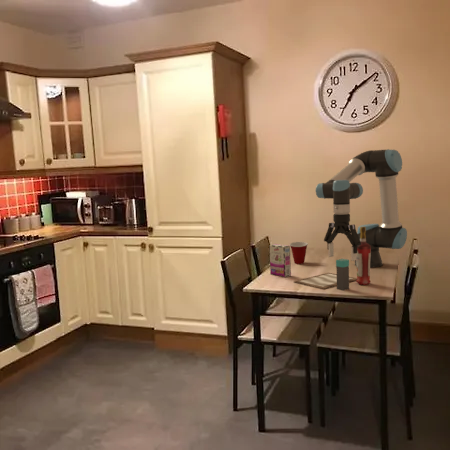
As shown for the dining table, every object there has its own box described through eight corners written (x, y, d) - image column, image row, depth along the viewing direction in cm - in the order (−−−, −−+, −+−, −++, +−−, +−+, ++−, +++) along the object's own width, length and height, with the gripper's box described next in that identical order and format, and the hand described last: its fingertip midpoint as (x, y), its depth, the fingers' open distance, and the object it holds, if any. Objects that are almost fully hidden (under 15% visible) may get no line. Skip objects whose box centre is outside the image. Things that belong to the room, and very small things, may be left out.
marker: (342, 287, 245) (341, 258, 243) (349, 288, 242) (348, 259, 240) (336, 289, 243) (336, 259, 241) (343, 290, 239) (343, 261, 238)
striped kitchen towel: (328, 273, 274) (328, 272, 274) (358, 279, 258) (358, 278, 258) (293, 282, 259) (293, 281, 259) (323, 289, 243) (323, 288, 243)
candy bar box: (291, 275, 274) (290, 245, 272) (285, 277, 271) (284, 246, 269) (276, 272, 282) (275, 243, 280) (270, 274, 279) (268, 244, 277)
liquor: (353, 282, 253) (352, 226, 249) (368, 281, 253) (367, 225, 250) (358, 286, 246) (357, 228, 242) (373, 285, 246) (372, 227, 242)
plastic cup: (288, 265, 301) (288, 244, 299) (291, 261, 311) (290, 241, 309) (307, 265, 298) (306, 244, 296) (309, 261, 308) (309, 241, 306)
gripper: (316, 212, 245) (316, 256, 248) (358, 215, 225) (358, 263, 228) (326, 211, 250) (327, 254, 252) (368, 214, 230) (369, 260, 232)
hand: (342, 258), depth 240 cm, fingers open, 13 cm apart
